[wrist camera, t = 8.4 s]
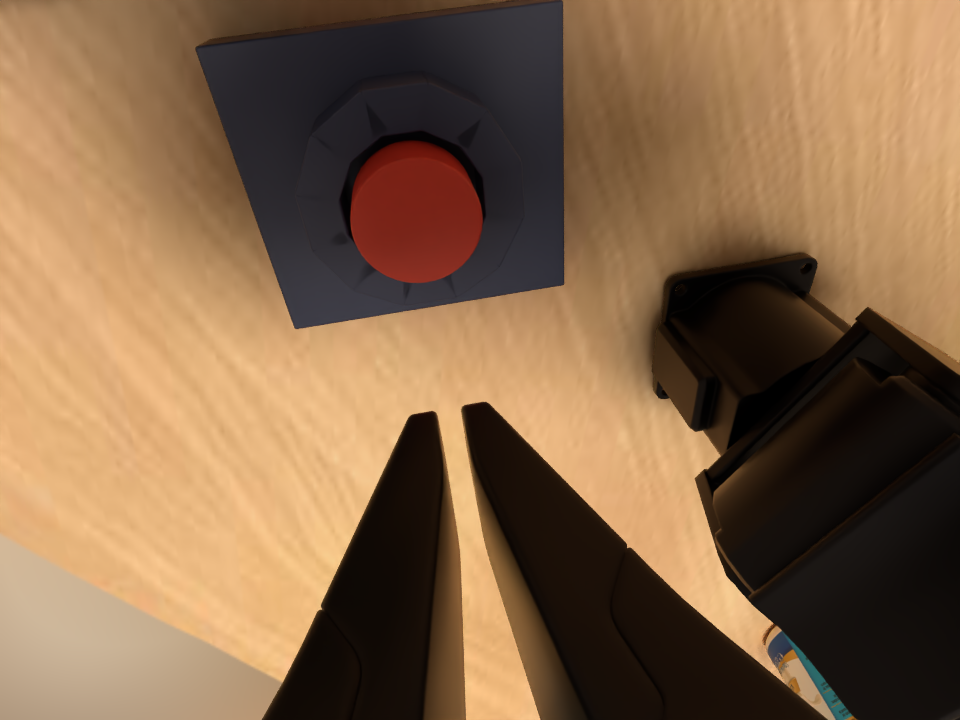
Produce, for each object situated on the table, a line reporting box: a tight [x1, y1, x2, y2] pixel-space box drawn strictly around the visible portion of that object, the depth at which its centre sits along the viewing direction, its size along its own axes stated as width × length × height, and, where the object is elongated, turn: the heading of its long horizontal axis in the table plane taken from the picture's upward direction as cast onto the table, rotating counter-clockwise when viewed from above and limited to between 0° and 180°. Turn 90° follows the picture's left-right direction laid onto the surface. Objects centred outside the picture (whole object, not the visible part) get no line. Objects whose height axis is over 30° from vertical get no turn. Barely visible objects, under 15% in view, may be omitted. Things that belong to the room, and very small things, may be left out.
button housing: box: [196, 0, 564, 329], centre depth 18 cm, size 10×9×4 cm
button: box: [350, 140, 483, 283], centre depth 16 cm, size 4×4×2 cm
